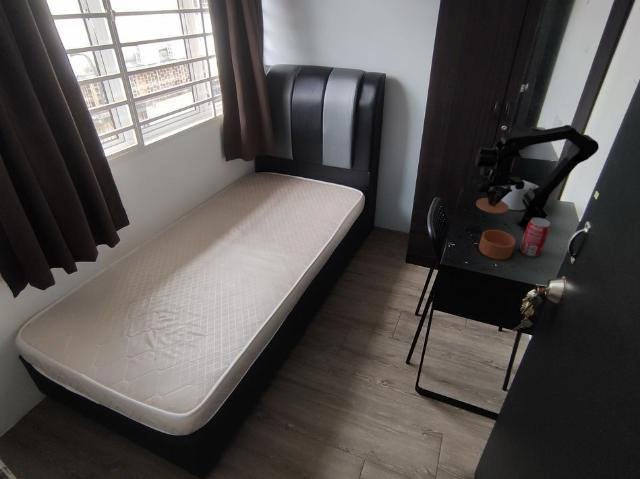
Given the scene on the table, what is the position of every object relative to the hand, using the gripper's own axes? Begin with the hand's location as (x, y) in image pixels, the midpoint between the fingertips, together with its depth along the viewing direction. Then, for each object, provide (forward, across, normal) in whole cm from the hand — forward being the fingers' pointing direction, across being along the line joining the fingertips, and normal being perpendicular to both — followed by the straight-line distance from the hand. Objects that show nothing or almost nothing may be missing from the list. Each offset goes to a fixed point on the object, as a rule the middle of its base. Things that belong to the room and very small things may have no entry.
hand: (492, 203), depth 152 cm
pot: (+9, +7, +18) cm, 21 cm away
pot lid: (+1, 0, 0) cm, 1 cm away
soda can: (+10, -5, +21) cm, 23 cm away
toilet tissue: (+10, -21, -13) cm, 26 cm away
